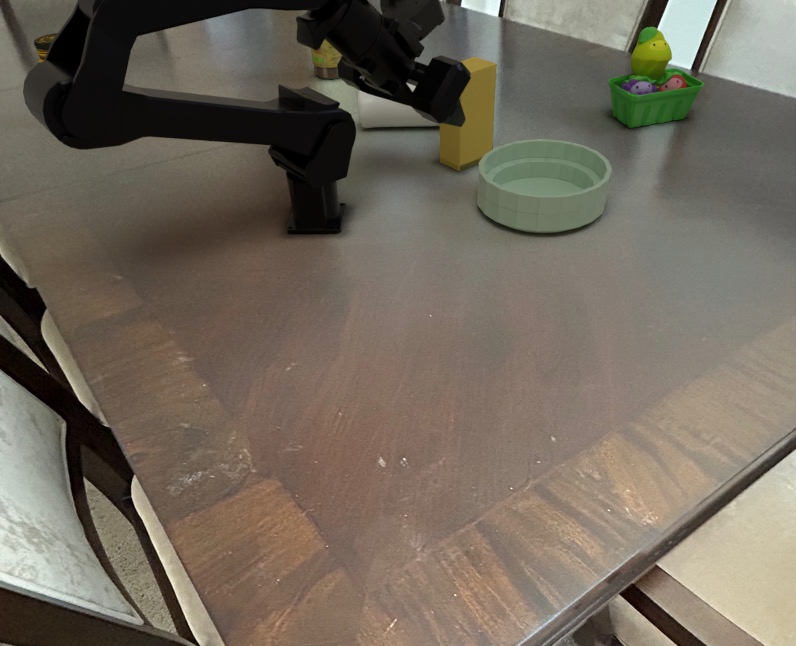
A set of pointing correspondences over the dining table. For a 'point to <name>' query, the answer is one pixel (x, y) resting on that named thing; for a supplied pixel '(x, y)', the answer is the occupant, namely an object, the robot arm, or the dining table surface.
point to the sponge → (472, 119)
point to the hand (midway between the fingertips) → (437, 112)
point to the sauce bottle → (326, 61)
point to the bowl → (543, 185)
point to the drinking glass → (388, 113)
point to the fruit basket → (652, 85)
